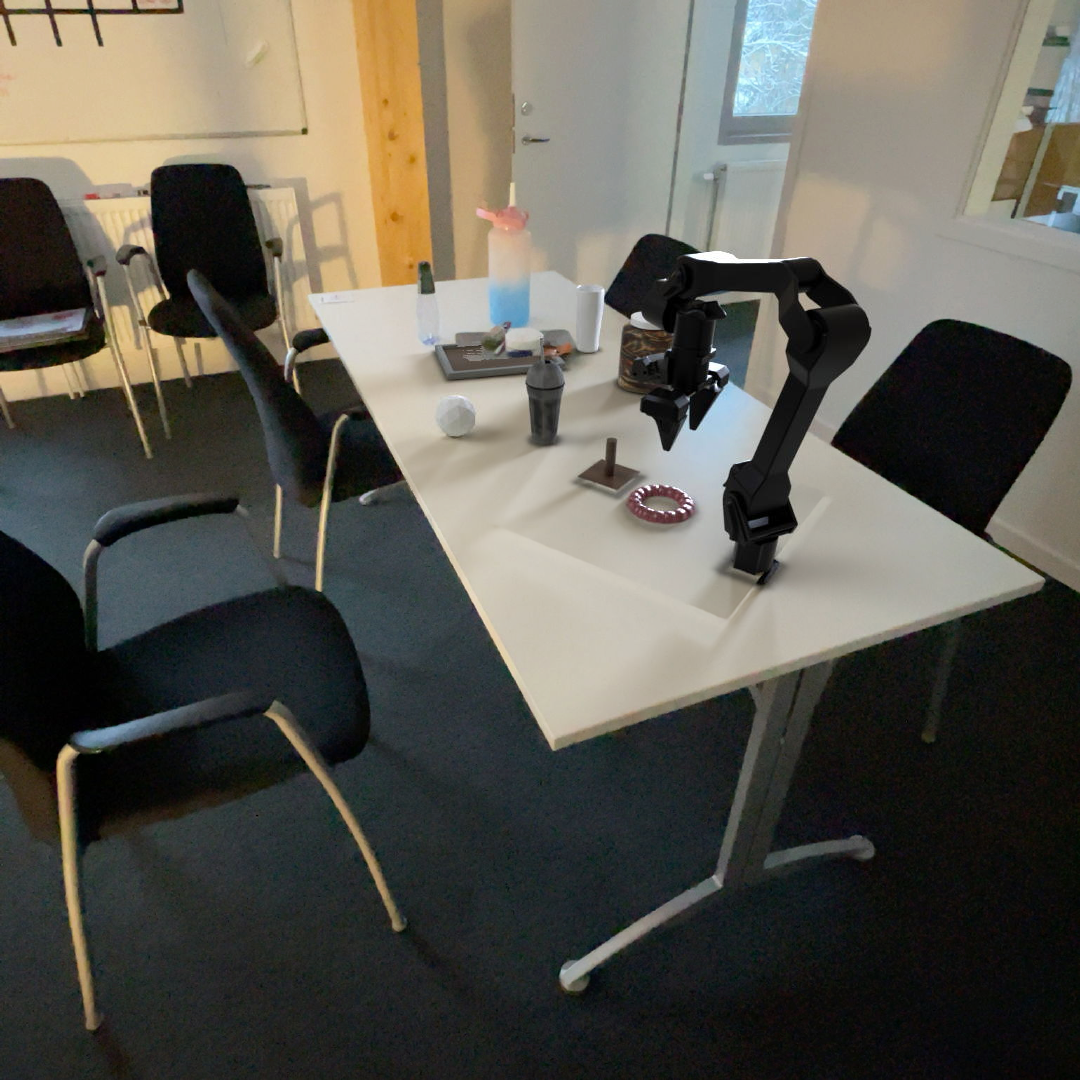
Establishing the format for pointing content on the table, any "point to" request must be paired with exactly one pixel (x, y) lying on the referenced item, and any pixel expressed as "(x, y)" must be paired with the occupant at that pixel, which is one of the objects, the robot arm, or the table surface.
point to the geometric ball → (455, 415)
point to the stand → (609, 469)
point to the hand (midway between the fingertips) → (679, 439)
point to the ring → (659, 516)
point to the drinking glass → (588, 316)
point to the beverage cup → (544, 398)
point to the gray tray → (483, 363)
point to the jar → (640, 351)
